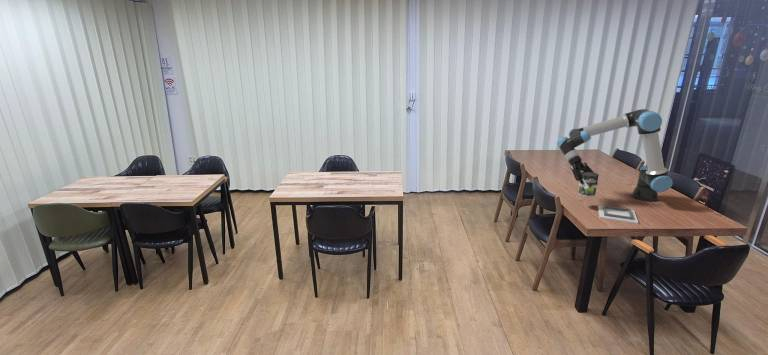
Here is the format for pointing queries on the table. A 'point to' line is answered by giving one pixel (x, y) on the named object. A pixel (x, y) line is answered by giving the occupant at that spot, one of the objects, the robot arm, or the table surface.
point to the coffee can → (591, 181)
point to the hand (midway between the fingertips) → (592, 186)
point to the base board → (617, 214)
